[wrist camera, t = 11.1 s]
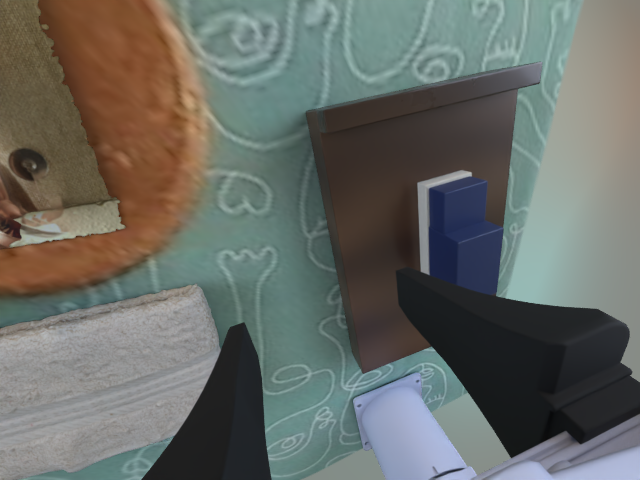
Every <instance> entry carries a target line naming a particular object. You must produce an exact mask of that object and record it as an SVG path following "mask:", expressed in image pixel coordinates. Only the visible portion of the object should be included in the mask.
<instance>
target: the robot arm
mask: <svg viewBox="0 0 640 480" xmlns="http://www.w3.org/2000/svg"><path fill="white" fill-rule="evenodd" d="M396 281H397V292H398V304H399V306H400V308H401V309H402V311H403V312H404V314H405V315H406V317H407V318H408V320H409V321H410V322H411V323H412V325H413V326H414V327H415V328H416V329H417V330H418V331H419V333H420V334H421V335H422V336H423V337H424V338H425V339H426V340H427V342H428V343H429V344H430V345H431V346H432V347H433V348H434V349H435V350H436V352H437V353H438V354H439V355H440V356H441V357H442V358H443V359H444V361H445V362H446V363H447V364H448V366H449V367H450V368H451V369H452V371H453V372H454V374H455V375H456V376H457V378H458V379H459V380H460V382H461V383H462V384H463V386H464V387H465V389H466V390H467V391H468V393H469V394H470V396H471V397H472V399H473V400H474V402H475V403H476V404H477V406H478V407H479V409H480V410H481V412H482V413H483V415H484V416H485V418H486V419H487V421H488V422H489V424H490V425H491V427H492V428H493V430H494V431H495V433H496V435H497V436H498V438H499V439H500V441H501V443H502V444H503V446H504V447H505V449H506V451H507V452H508V454H509V455H510V457H511V459H509V460H507V461H505V462H503V463H501V464H499V465H497V466H495V467H493V468H491V469H489V470H487V471H485V472H483V473H481V474H479V475H477V474H476V473H475V471H474V470H473V469H472V467H471V466H468V467H467V465H466V464H465V462H464V461H463V459H462V458H461V456H460V455H459V454H458V452H457V451H456V449H455V447H454V446H453V445H452V443H451V442H450V440H449V439H448V437H447V436H446V434H445V433H444V431H443V430H442V428H441V427H440V425H439V424H438V422H437V421H436V420H435V418H434V416H433V415H432V414H431V412H430V411H429V409H428V408H427V406H426V405H425V403H424V402H423V400H422V385H421V375H420V374H419V373H417V372H416V373H414V374H411V375H409V376H406V377H404V378H401V379H399V380H397V381H394V382H392V383H389V384H387V385H385V386H382V387H380V388H377V389H375V390H373V391H370V392H368V393H365V394H363V395H360V396H358V397H356V398H355V399H354V400H353V404H354V409H355V413H356V418H357V422H358V427H359V432H360V436H361V441H362V446H363V449H364V450H366V451H367V450H369V449H373V451H374V453H375V455H376V458H377V460H378V462H379V465H380V467H381V469H382V472H383V474H384V477H385V479H386V480H640V382H638V381H637V380H635V379H634V378H632V377H631V376H630V375H631V374H632V371H631V369H630V368H628V367H626V366H625V365H623V364H622V363H620V361H621V359H622V357H623V354H624V352H625V349H626V347H627V344H628V341H629V335H630V334H629V329H628V327H627V325H626V324H625V323H622V322H621V321H619V320H617V319H615V318H613V317H612V316H610V315H608V314H606V313H604V312H602V311H600V310H598V309H590V308H574V307H559V306H550V305H542V304H534V303H528V302H522V301H516V300H511V299H506V298H501V297H497V296H493V295H489V294H485V293H481V292H477V291H474V290H470V289H467V288H464V287H461V286H458V285H455V284H452V283H449V282H447V281H444V280H441V279H439V278H436V277H433V276H431V275H428V274H426V273H423V272H420V271H418V270H415V269H412V268H410V267H405V268H402V269H399V270H396ZM142 480H271V474H270V467H269V461H268V454H267V447H266V439H265V425H264V407H263V389H262V376H261V370H260V365H259V359H258V355H257V352H256V350H255V347H254V345H253V343H252V340H251V338H250V335H249V333H248V330H247V328H246V325H245V323H241V324H238V325H235V326H232V327H230V328H229V330H228V333H227V335H226V338H225V341H224V344H223V346H222V349H221V351H220V354H219V356H218V359H217V361H216V363H215V366H214V368H213V370H212V372H211V374H210V376H209V378H208V380H207V382H206V385H205V387H204V389H203V391H202V392H201V394H200V396H199V398H198V400H197V401H196V403H195V405H194V407H193V408H192V410H191V412H190V413H189V415H188V417H187V418H186V420H185V421H184V423H183V424H182V426H181V427H180V429H179V430H178V432H177V433H176V435H175V436H174V438H173V439H172V441H171V442H170V444H169V445H168V446H167V448H166V449H165V450H164V452H163V453H162V454H161V456H160V457H159V458H158V460H157V461H156V462H155V463H154V465H153V466H152V467H151V468H150V470H149V471H148V472H147V473H146V475H145V476H144V477H143V478H142Z"/></svg>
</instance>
